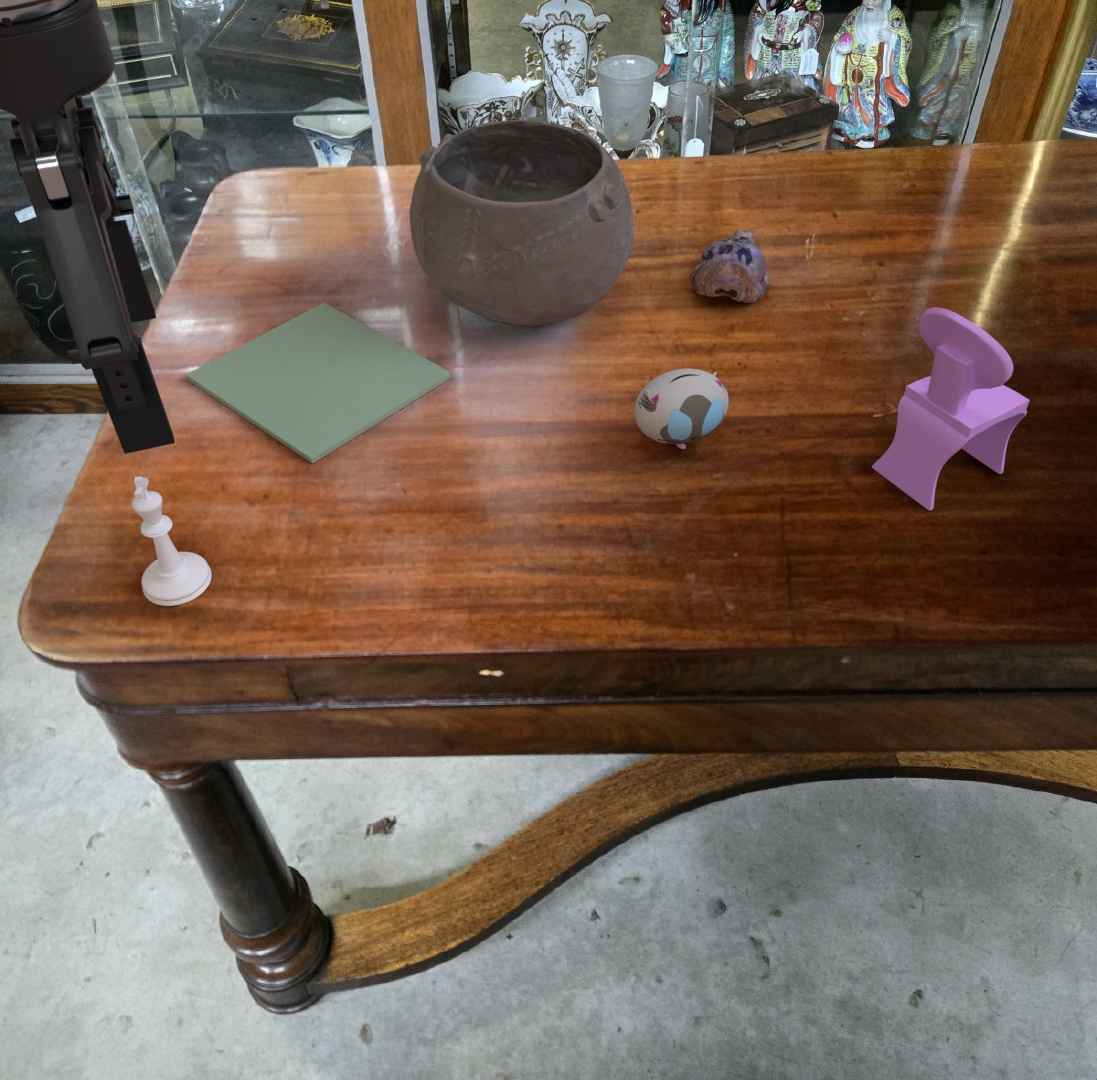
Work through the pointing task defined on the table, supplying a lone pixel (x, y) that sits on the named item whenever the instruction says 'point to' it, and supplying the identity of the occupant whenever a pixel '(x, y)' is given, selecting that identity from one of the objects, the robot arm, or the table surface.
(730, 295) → the purple rounded piece
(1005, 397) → the toy chair
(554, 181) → the clay pot
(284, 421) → the mat
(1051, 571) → the table surface
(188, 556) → the chess piece
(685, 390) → the figurine
